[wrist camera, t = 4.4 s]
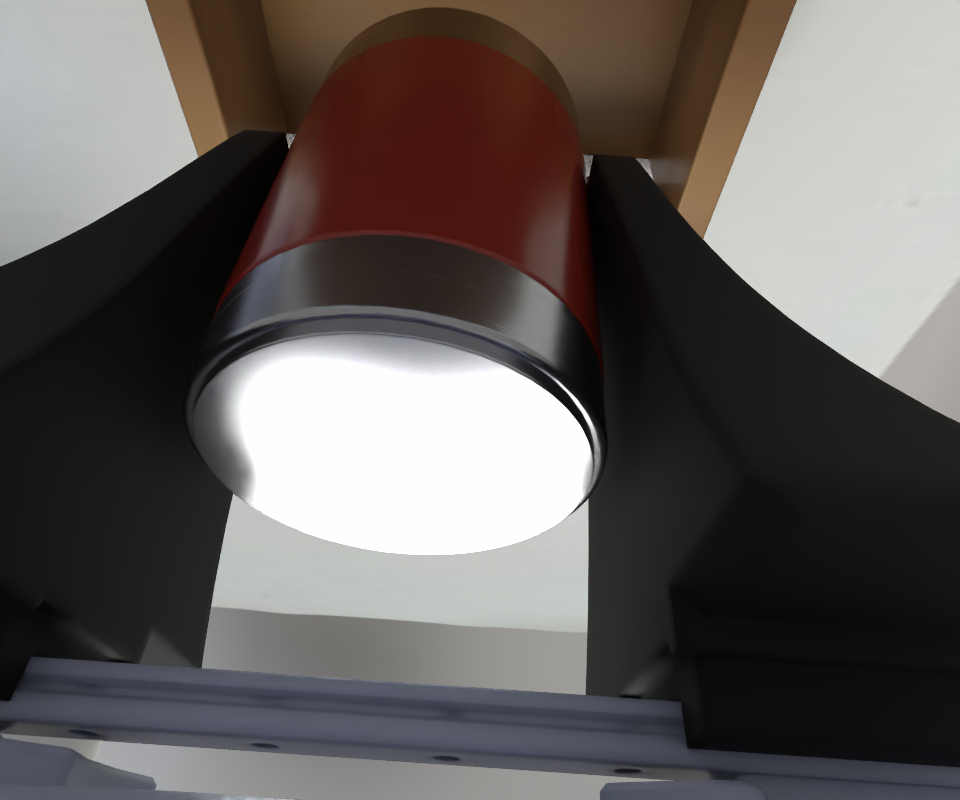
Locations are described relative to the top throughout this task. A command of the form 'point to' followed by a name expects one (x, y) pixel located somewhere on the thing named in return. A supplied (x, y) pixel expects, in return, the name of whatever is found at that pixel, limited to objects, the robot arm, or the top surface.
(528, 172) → the can
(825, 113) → the top surface
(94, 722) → the robot arm
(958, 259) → the top surface
